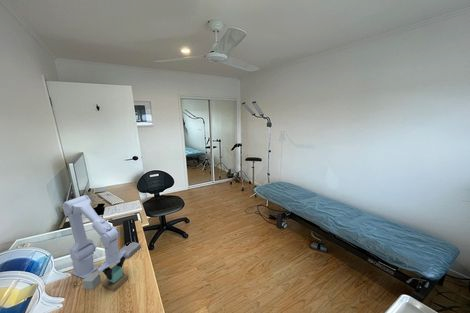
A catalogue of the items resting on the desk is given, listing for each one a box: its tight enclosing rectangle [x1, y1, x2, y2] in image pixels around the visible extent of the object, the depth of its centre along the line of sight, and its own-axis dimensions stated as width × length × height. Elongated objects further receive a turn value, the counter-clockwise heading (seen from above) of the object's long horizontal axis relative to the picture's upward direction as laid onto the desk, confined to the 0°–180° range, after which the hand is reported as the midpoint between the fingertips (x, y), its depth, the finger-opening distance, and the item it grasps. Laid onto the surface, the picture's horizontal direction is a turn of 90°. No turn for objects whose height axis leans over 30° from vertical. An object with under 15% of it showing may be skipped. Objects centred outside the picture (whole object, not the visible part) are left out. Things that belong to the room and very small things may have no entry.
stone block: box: [119, 241, 142, 260], centre depth 121 cm, size 12×5×10 cm
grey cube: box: [82, 272, 102, 290], centre depth 96 cm, size 5×5×5 cm
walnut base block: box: [101, 272, 129, 292], centre depth 98 cm, size 8×8×3 cm
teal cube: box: [106, 264, 124, 283], centre depth 97 cm, size 5×5×5 cm
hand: (114, 274), depth 97 cm, fingers closed on teal cube, 5 cm apart
